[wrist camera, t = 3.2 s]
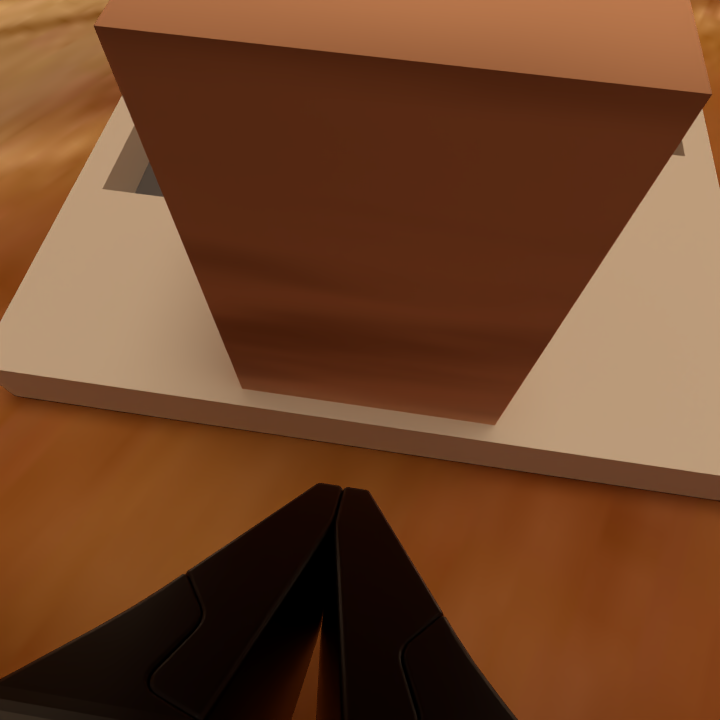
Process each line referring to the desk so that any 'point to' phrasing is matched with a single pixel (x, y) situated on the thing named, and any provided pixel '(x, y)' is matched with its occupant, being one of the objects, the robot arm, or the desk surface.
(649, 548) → the desk surface
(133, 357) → the plate
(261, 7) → the terracotta block
